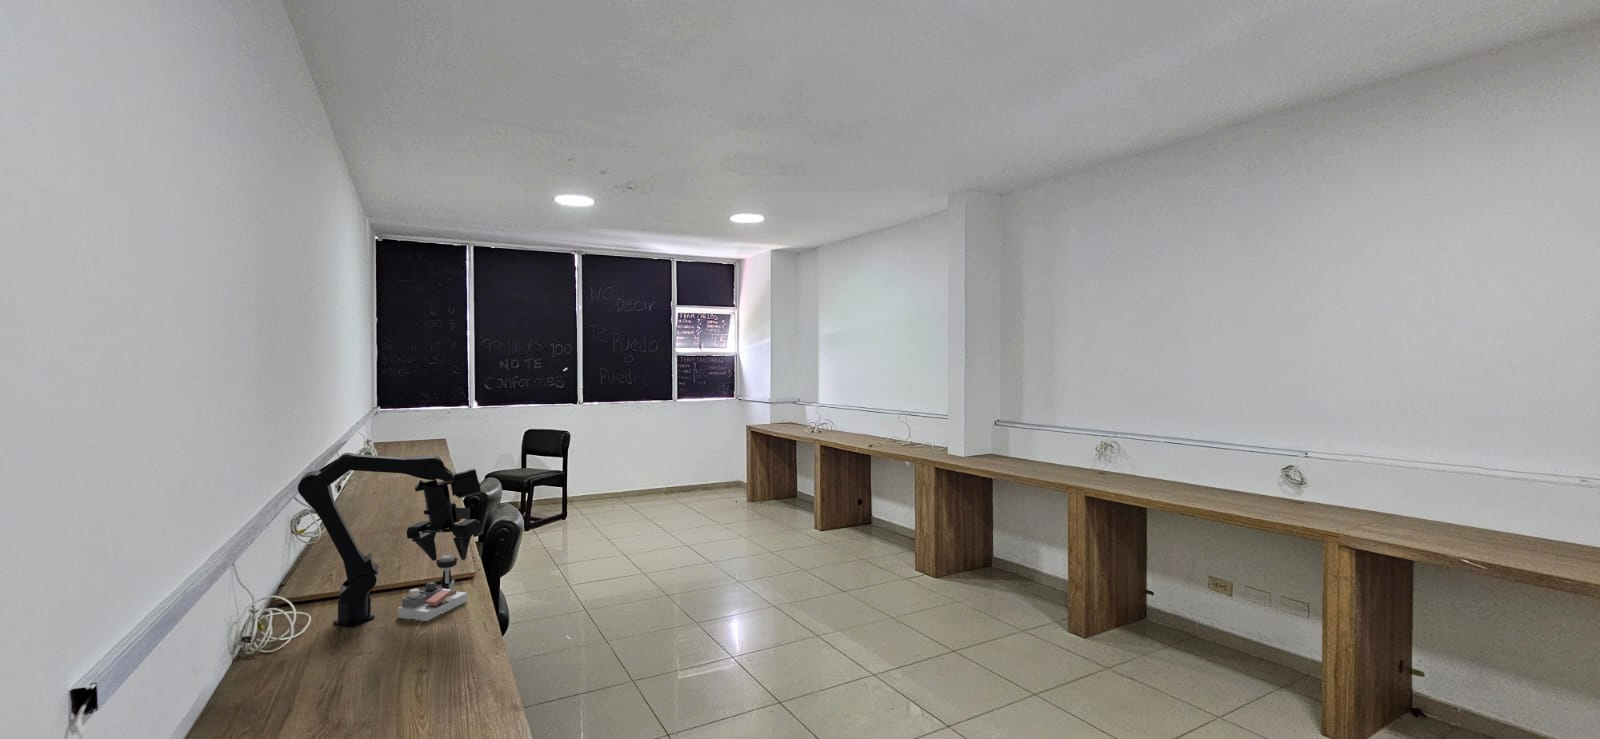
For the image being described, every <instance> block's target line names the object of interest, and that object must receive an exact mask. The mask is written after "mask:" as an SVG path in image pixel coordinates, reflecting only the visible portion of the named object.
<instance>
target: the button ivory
mask: <svg viewBox="0 0 1600 739" xmlns="http://www.w3.org/2000/svg"><path fill="white" fill-rule="evenodd" d="M420 591H421V590H420V588H412V589H409V591H408V596H409V599H412V600H415V599H418V598H420Z"/></svg>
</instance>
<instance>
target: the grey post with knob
mask: <svg viewBox="0 0 1600 739" xmlns="http://www.w3.org/2000/svg"><path fill="white" fill-rule="evenodd" d="M458 559H459V558H457V557H455V555H454V554H444V555H441V556H439V558H437V559H436V560H435V563H436V566H437V567H438V568H439V569H441V570H442V578H440V584H441V586H440V588H442V589H443V588H445V589H449V588H450V584H451V581H452V580H454V578H453V576H452V574H451V573H452V571H451V569H452V568H454V567H455V566H456V565H457V564H458ZM452 590H454V586H453V587H452Z"/></svg>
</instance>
